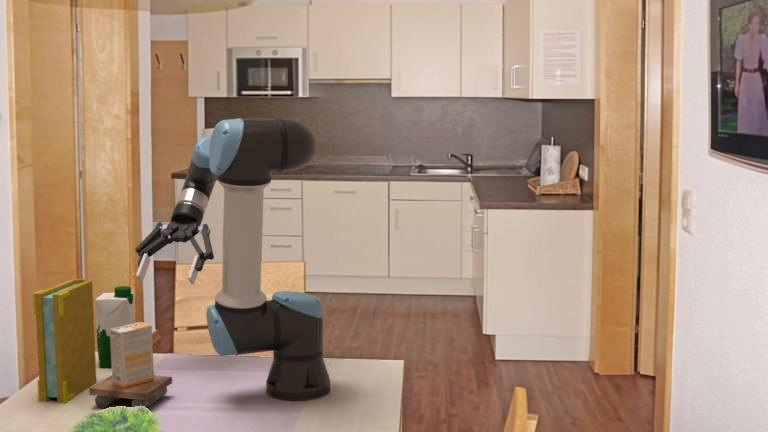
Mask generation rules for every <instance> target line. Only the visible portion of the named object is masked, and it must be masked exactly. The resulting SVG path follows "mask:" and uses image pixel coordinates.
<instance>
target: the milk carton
mask: <svg viewBox="0 0 768 432" xmlns="http://www.w3.org/2000/svg"><path fill="white" fill-rule="evenodd" d="M94 303H95V317H96V318H95V319H96V322H95V323H96V344H97V345H96V348H97V355H98V357H97V358H98V364H99V368H100V369H102V368H103V369H104V368H108V369H110V368H111V369H112V364H111V344H110V329H111V328H116V327H120V326H125V325H129V324H134V323H135V293H134V292H132V288H131V287H130V286H126V285H125V286H124V285H123V286H116V287H114V292H104V293H102V294H101V295H99V296H97V298H95V299H94Z"/></svg>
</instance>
